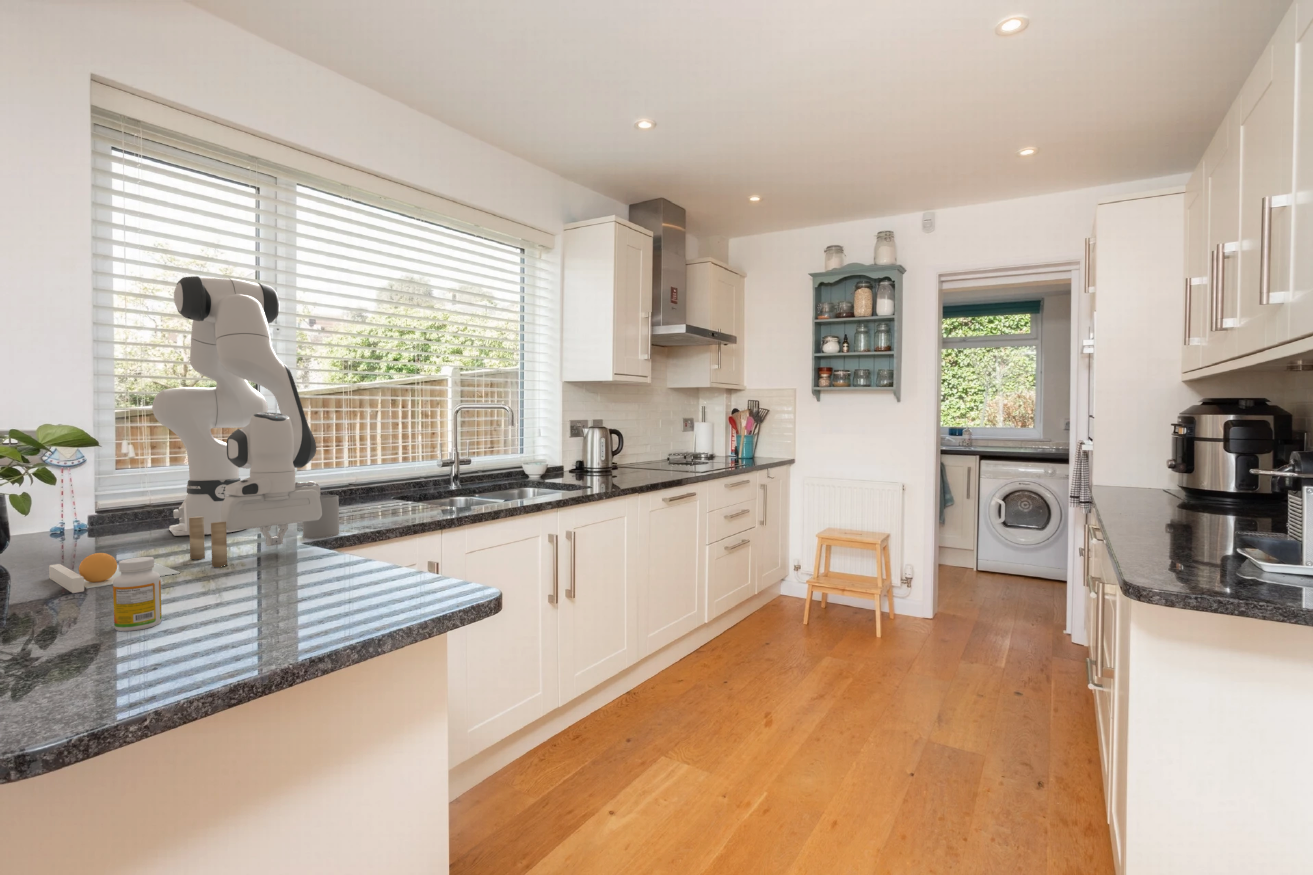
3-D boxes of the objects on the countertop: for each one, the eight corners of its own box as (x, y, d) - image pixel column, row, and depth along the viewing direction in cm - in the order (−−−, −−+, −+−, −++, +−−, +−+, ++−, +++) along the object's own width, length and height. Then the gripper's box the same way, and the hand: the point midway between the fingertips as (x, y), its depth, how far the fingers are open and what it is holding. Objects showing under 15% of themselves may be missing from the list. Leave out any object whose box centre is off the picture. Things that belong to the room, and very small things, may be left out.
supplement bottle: (132, 620, 96) (130, 556, 96) (170, 619, 96) (168, 555, 96) (104, 632, 91) (102, 564, 90) (145, 631, 91) (143, 563, 91)
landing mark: (67, 577, 123) (67, 576, 123) (157, 564, 135) (157, 563, 135) (86, 588, 115) (86, 587, 115) (180, 573, 126) (180, 572, 126)
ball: (75, 581, 119) (77, 552, 119) (113, 577, 123) (114, 549, 123) (80, 587, 116) (82, 557, 116) (119, 582, 120) (120, 553, 120)
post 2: (210, 566, 132) (208, 522, 132) (224, 564, 134) (223, 521, 134) (214, 568, 130) (213, 524, 130) (229, 565, 132) (228, 522, 132)
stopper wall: (49, 578, 123) (49, 565, 123) (60, 576, 124) (59, 563, 124) (72, 593, 112) (72, 578, 112) (84, 591, 113) (83, 577, 113)
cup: (323, 538, 163) (322, 499, 163) (295, 537, 165) (294, 498, 165) (346, 532, 172) (345, 495, 171) (319, 531, 173) (318, 494, 173)
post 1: (188, 558, 139) (187, 517, 139) (202, 556, 141) (201, 516, 141) (192, 560, 138) (191, 518, 138) (206, 558, 140) (205, 517, 140)
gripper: (313, 479, 156) (314, 536, 156) (216, 487, 140) (218, 550, 140) (326, 481, 152) (327, 539, 153) (228, 489, 136) (229, 554, 136)
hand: (274, 544), depth 146 cm, fingers closed
